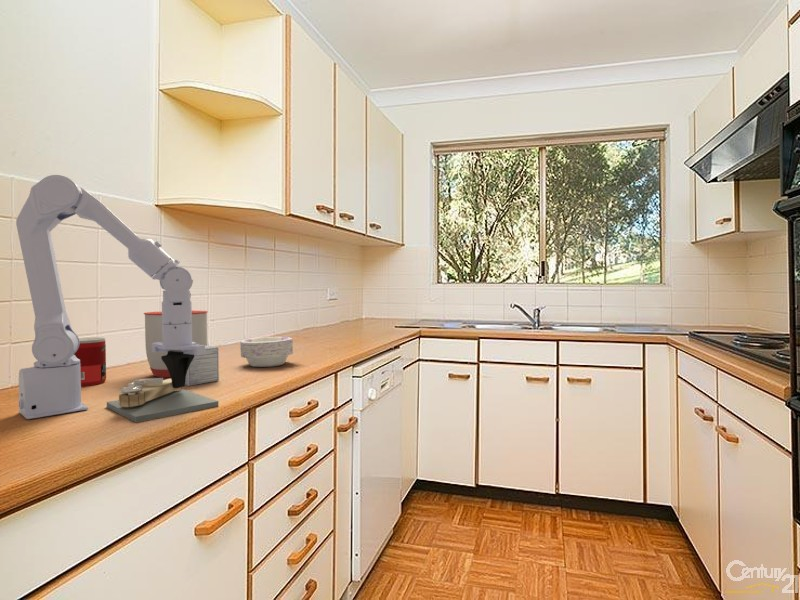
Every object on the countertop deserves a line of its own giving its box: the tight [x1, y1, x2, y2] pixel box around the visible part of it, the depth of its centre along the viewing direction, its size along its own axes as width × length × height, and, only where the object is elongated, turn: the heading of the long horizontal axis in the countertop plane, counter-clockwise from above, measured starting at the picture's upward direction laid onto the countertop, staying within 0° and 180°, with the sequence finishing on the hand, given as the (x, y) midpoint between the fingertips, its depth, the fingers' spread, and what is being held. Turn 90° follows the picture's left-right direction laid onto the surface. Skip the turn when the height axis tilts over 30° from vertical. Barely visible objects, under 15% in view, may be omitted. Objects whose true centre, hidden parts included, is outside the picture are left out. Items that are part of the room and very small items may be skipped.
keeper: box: [132, 377, 164, 387], centre depth 95 cm, size 2×5×5 cm, turn 109°
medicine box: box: [180, 345, 220, 387], centre depth 116 cm, size 8×4×9 cm, turn 141°
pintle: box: [120, 382, 142, 408], centre depth 89 cm, size 4×4×6 cm
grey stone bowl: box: [239, 336, 294, 368], centre depth 142 cm, size 15×15×8 cm
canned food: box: [74, 337, 107, 387], centre depth 116 cm, size 8×8×11 cm
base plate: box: [106, 389, 219, 423], centre depth 93 cm, size 15×16×1 cm
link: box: [118, 378, 183, 407], centre depth 95 cm, size 16×4×2 cm, turn 175°
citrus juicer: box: [143, 310, 209, 379], centre depth 128 cm, size 16×17×20 cm
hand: (178, 387), depth 100 cm, fingers closed, pressing on link
